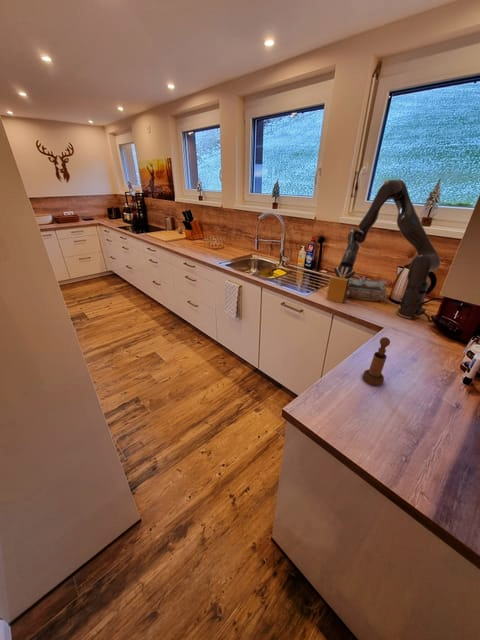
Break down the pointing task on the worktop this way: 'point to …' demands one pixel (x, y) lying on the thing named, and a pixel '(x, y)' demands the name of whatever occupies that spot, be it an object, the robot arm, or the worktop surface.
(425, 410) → the worktop surface
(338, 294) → the tan upright box
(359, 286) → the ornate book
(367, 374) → the brown knobbed pedestal
